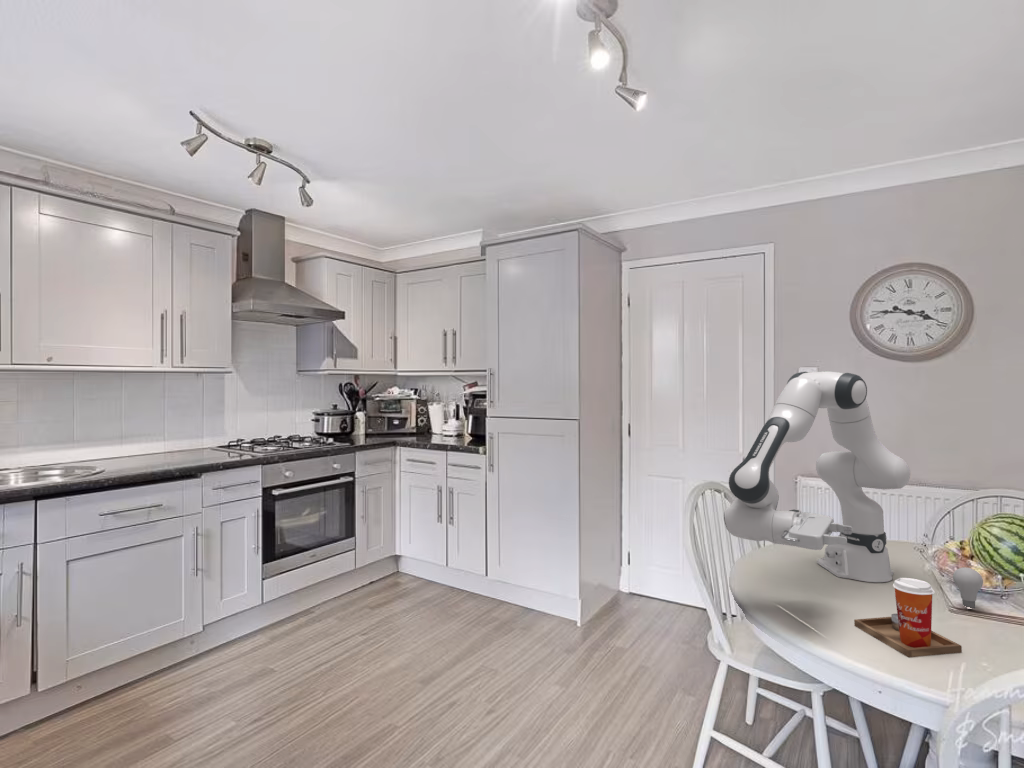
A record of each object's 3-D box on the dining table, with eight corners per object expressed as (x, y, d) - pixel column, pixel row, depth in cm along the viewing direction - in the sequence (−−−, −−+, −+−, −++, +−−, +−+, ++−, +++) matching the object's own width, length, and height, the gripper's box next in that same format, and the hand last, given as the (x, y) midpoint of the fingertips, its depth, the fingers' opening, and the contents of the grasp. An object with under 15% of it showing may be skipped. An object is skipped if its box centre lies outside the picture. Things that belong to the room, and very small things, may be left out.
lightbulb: (976, 605, 144) (974, 564, 144) (989, 614, 138) (987, 572, 138) (949, 603, 145) (947, 563, 146) (961, 613, 140) (959, 571, 140)
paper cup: (889, 641, 124) (886, 581, 124) (903, 632, 128) (900, 574, 129) (929, 655, 118) (926, 591, 118) (942, 644, 122) (940, 583, 122)
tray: (854, 627, 133) (854, 619, 133) (902, 624, 134) (901, 615, 134) (908, 659, 117) (908, 650, 117) (961, 655, 118) (961, 645, 118)
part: (888, 626, 132) (887, 614, 132) (901, 625, 132) (901, 613, 132) (900, 632, 128) (899, 620, 129) (913, 631, 129) (913, 619, 129)
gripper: (778, 526, 133) (842, 533, 124) (795, 507, 148) (854, 513, 140) (779, 551, 133) (844, 560, 124) (796, 530, 148) (855, 537, 140)
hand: (849, 535), depth 132 cm, fingers open, 8 cm apart
